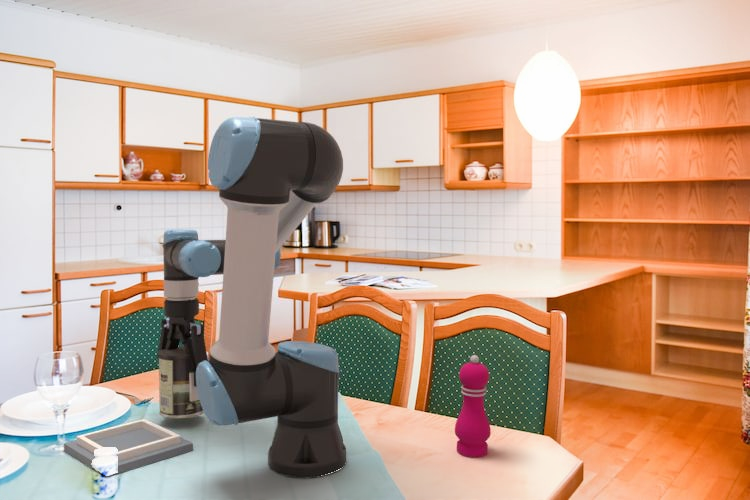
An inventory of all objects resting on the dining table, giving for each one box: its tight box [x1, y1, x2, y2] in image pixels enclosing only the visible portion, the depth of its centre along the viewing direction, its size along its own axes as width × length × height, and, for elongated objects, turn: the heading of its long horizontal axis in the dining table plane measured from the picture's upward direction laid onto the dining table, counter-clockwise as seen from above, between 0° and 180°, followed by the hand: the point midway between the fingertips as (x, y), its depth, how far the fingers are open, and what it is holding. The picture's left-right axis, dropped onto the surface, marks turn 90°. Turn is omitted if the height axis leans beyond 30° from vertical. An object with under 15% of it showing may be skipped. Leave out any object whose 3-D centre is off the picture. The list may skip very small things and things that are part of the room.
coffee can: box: [157, 345, 205, 419], centre depth 148 cm, size 10×10×14 cm
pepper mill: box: [454, 354, 492, 458], centre depth 132 cm, size 7×7×20 cm
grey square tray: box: [63, 418, 194, 475], centre depth 131 cm, size 18×18×3 cm
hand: (182, 395), depth 148 cm, fingers closed on coffee can, 10 cm apart
